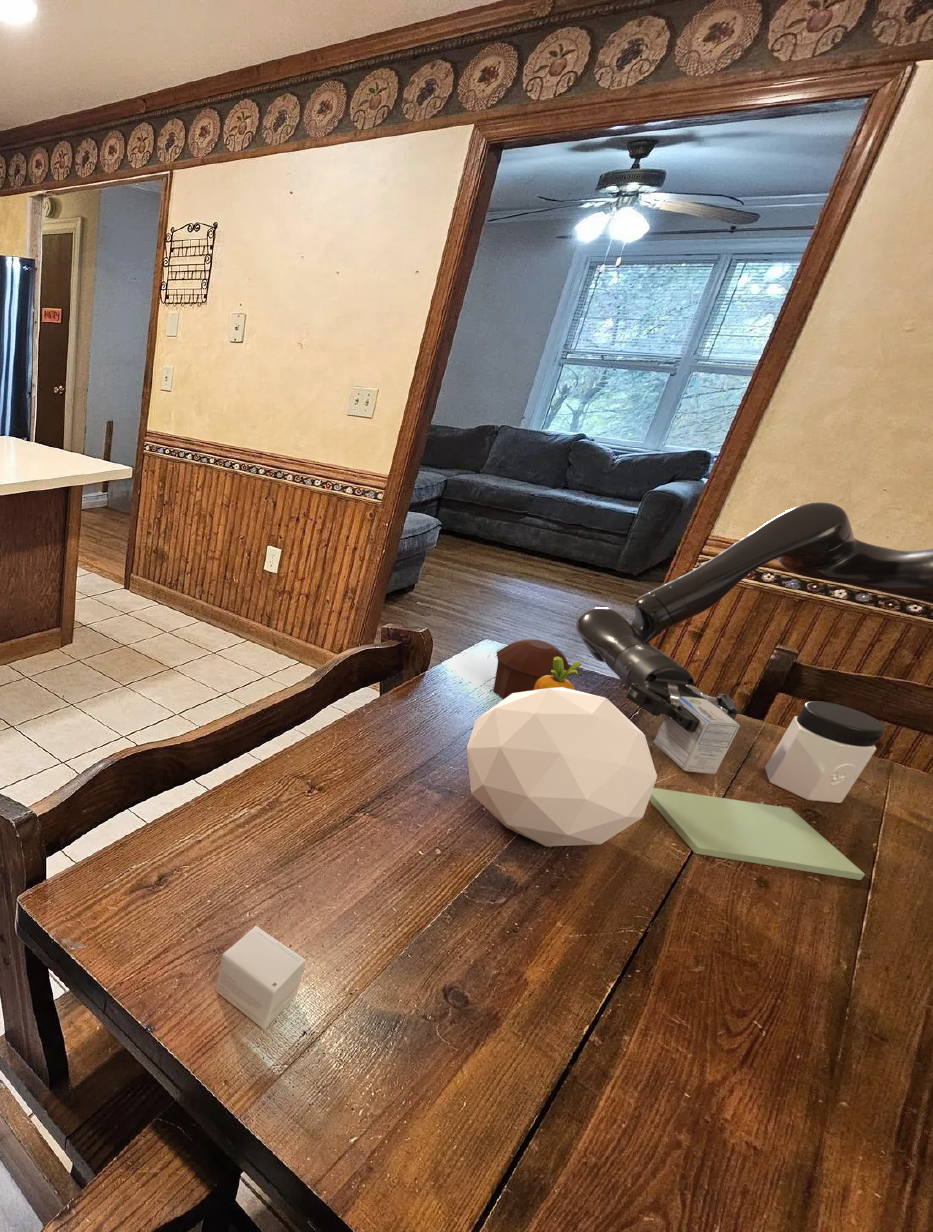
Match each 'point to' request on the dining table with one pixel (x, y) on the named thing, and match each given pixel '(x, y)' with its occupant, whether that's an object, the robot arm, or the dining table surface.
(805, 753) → the jar
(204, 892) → the dining table surface
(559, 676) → the carrot
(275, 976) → the small box
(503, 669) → the muffin
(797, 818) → the mat
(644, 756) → the ball
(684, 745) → the medicine box
